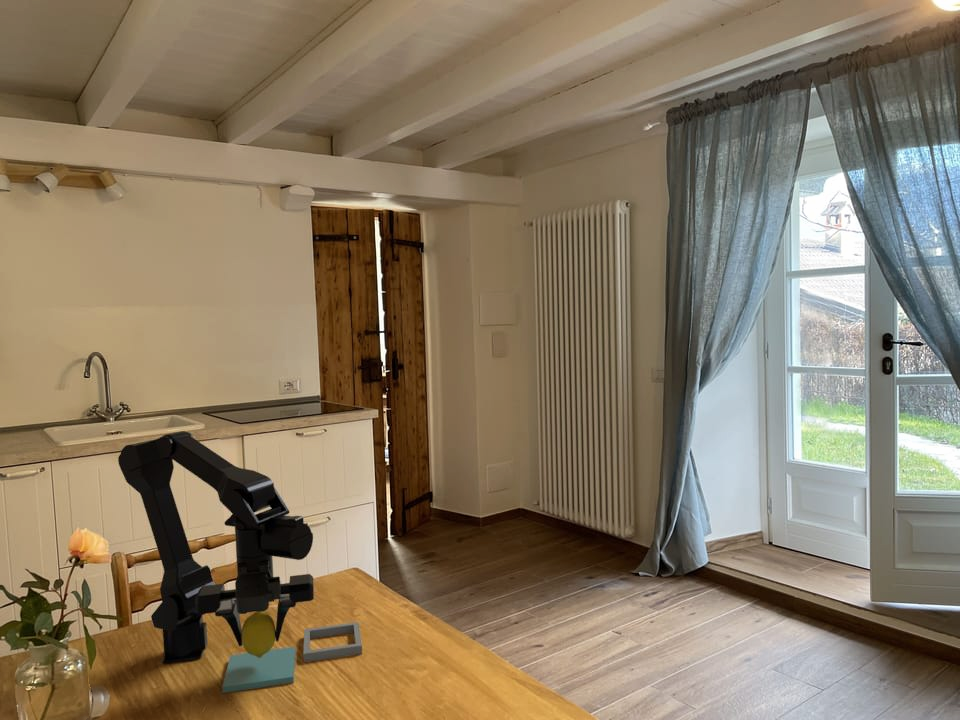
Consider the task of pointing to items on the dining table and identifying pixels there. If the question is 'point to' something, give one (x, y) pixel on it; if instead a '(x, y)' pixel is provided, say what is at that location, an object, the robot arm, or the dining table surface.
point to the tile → (260, 670)
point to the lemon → (258, 634)
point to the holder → (332, 651)
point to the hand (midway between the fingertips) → (259, 642)
